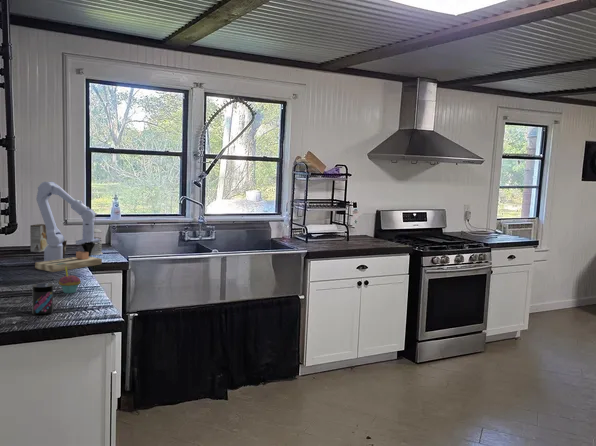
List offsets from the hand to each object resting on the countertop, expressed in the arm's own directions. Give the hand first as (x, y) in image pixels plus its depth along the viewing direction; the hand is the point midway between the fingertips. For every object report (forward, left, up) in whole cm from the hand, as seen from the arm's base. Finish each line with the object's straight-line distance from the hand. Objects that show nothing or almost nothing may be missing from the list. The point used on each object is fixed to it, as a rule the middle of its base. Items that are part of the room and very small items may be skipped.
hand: (87, 256), depth 284 cm
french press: (-23, +23, -4) cm, 33 cm away
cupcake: (+47, -49, -4) cm, 68 cm away
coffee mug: (-26, +2, -4) cm, 26 cm away
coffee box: (-53, +8, -4) cm, 54 cm away
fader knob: (0, -4, -1) cm, 4 cm away
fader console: (0, -12, -4) cm, 12 cm away
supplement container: (+67, -76, -4) cm, 101 cm away
